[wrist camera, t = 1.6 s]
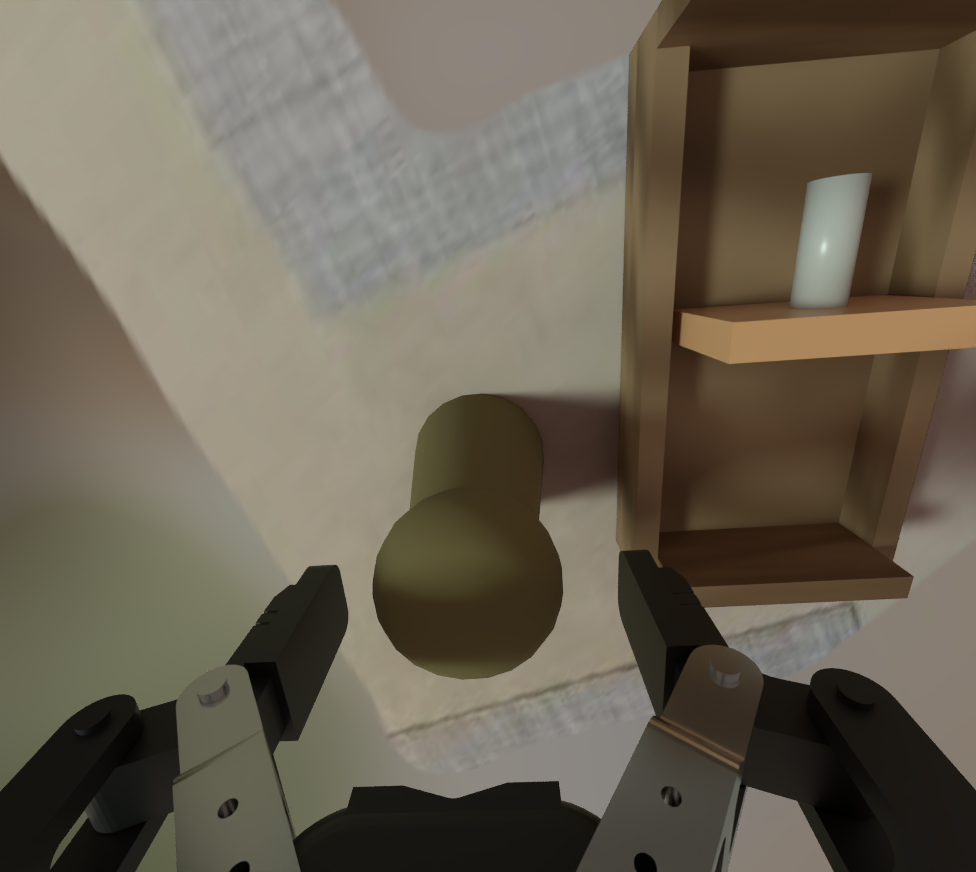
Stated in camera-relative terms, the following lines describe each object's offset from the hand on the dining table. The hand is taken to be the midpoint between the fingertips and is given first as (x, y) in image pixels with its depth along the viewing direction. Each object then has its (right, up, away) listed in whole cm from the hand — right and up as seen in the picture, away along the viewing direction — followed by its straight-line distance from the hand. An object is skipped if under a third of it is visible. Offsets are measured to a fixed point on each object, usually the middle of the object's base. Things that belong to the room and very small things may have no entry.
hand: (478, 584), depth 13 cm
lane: (+11, +9, +6) cm, 16 cm away
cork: (0, +3, +9) cm, 9 cm away
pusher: (+11, +11, +4) cm, 16 cm away
